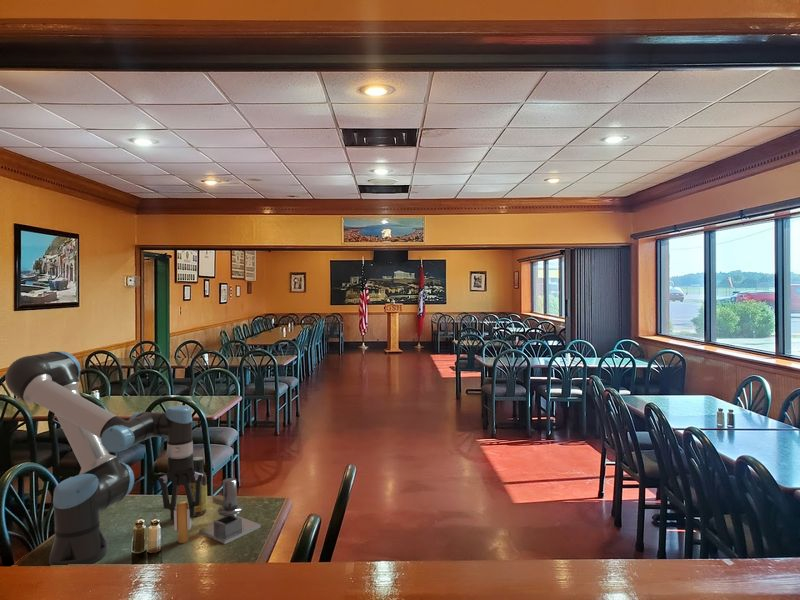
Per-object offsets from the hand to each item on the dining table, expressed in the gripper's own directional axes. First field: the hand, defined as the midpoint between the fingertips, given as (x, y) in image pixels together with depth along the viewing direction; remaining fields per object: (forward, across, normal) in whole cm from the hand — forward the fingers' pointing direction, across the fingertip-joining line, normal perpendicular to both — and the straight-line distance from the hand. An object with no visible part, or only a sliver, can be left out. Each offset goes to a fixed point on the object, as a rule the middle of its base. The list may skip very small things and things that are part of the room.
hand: (183, 528), depth 174 cm
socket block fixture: (+4, +12, +6) cm, 14 cm away
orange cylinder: (+4, 0, 0) cm, 4 cm away
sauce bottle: (+4, +1, +21) cm, 22 cm away
